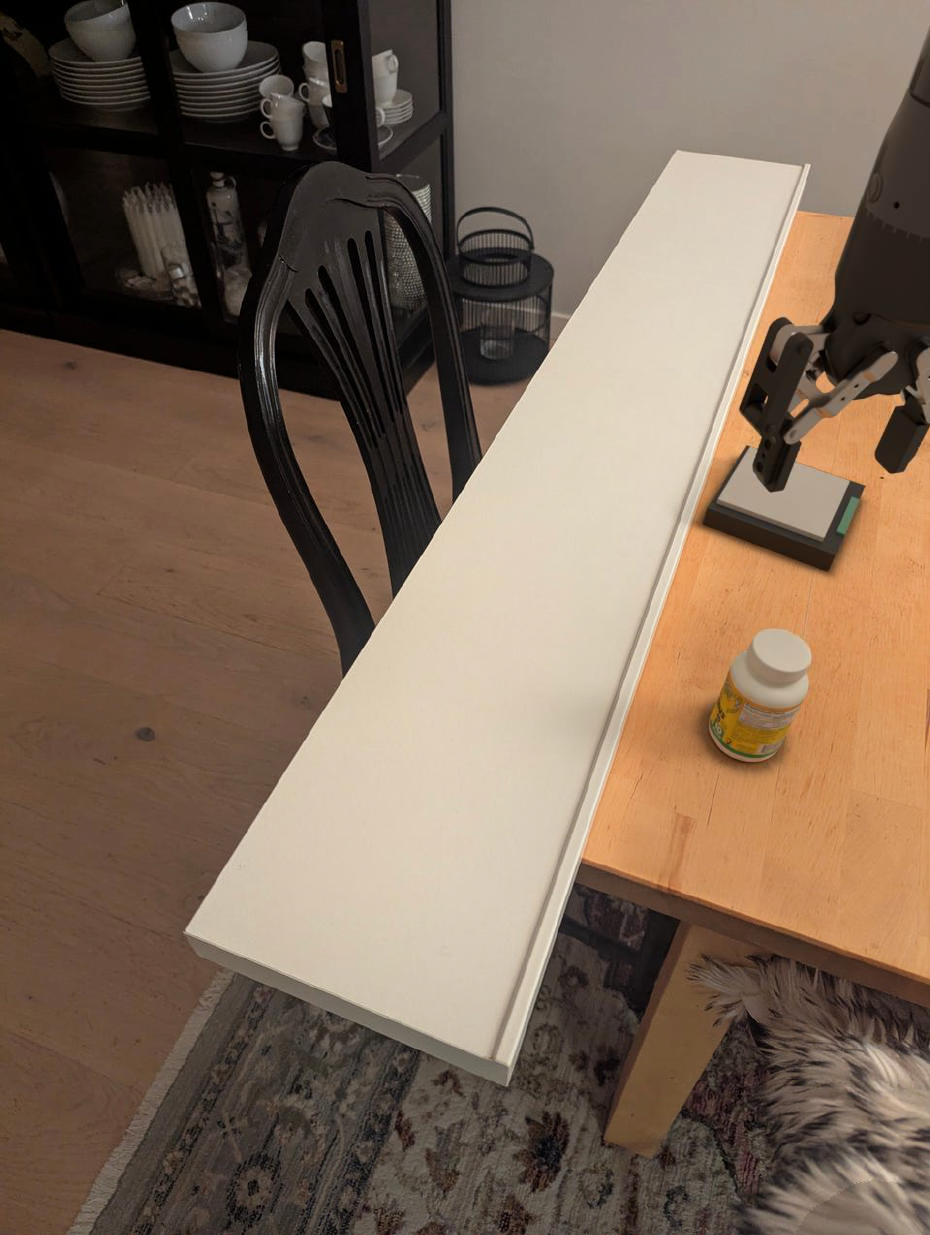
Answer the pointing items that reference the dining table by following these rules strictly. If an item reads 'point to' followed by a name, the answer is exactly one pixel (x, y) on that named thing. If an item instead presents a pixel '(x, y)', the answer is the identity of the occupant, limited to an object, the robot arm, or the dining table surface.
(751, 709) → the supplement bottle
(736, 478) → the scale
